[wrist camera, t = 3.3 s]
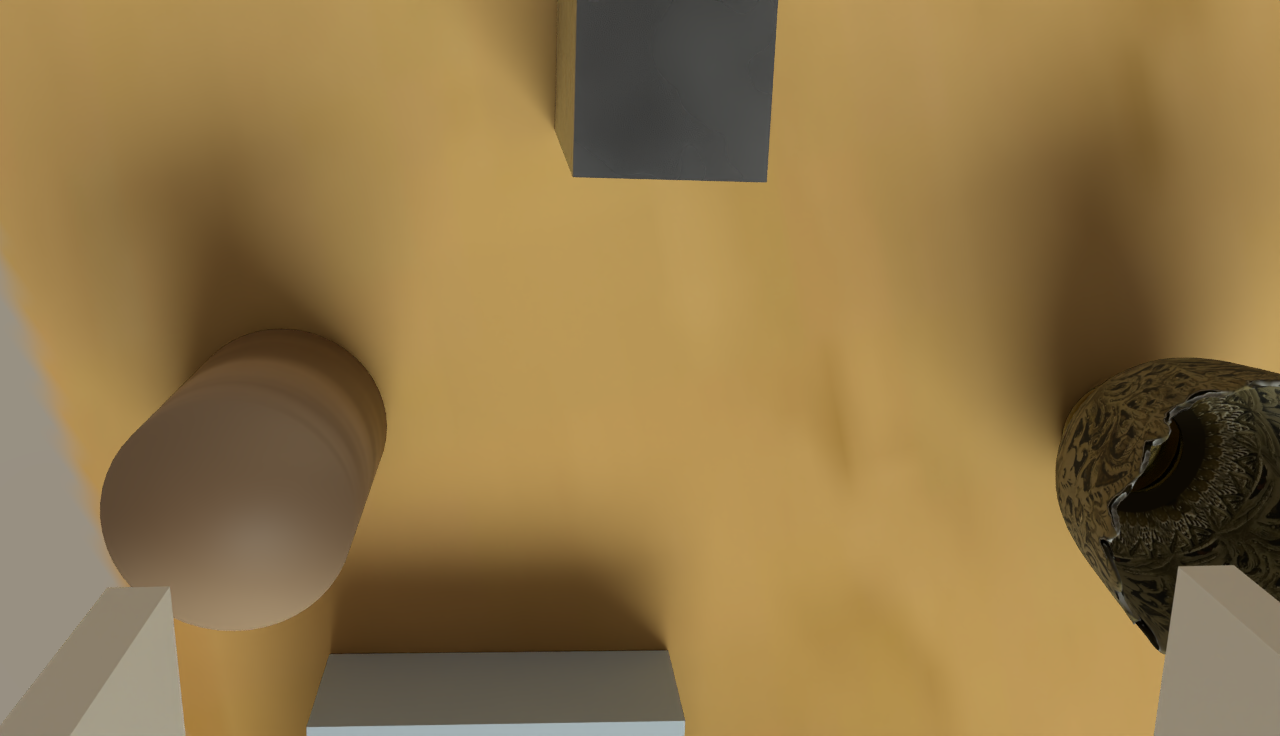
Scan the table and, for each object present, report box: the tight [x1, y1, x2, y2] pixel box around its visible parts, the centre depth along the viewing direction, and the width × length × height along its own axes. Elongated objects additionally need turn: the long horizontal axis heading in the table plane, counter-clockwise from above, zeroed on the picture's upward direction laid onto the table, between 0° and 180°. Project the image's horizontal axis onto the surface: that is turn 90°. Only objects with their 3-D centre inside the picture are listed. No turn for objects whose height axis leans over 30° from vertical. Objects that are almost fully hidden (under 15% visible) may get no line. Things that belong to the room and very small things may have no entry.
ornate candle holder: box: [1056, 358, 1280, 654], centre depth 33 cm, size 7×7×8 cm
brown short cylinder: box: [100, 329, 387, 631], centre depth 31 cm, size 6×6×7 cm
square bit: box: [555, 0, 778, 182], centre depth 27 cm, size 3×3×12 cm
